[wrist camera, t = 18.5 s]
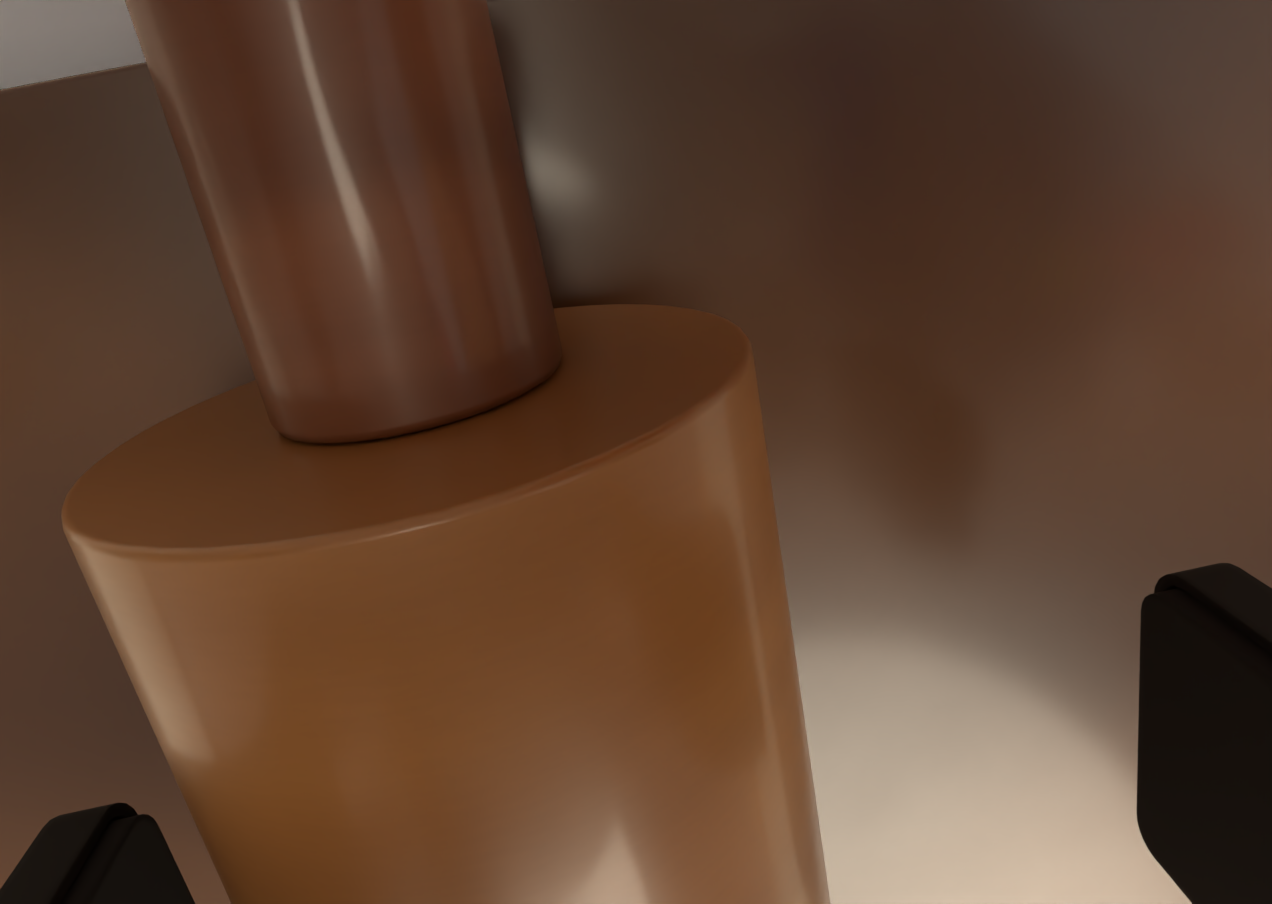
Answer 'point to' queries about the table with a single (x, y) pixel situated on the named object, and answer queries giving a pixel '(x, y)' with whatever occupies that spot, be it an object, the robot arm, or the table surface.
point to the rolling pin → (441, 511)
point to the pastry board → (775, 381)
